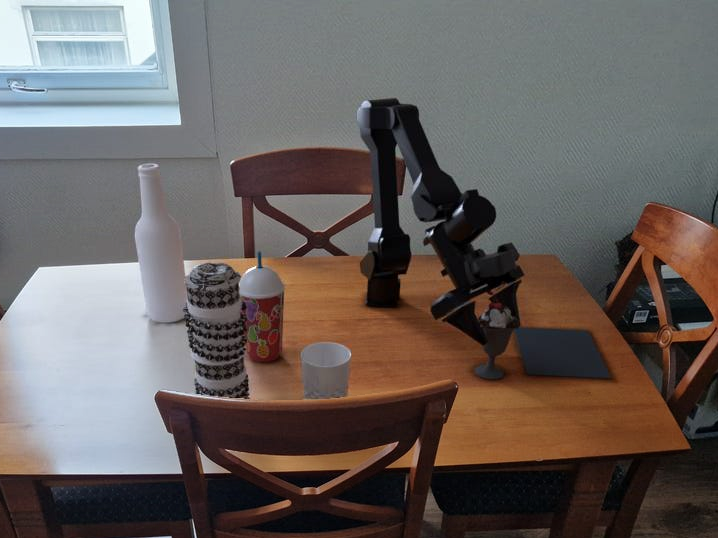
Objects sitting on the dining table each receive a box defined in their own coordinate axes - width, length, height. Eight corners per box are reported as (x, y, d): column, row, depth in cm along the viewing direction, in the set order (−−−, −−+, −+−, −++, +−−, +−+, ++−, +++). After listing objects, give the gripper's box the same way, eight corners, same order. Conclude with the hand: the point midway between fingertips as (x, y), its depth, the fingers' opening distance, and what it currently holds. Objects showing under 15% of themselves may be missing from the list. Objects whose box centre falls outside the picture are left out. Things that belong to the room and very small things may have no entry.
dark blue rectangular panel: (527, 374, 114) (527, 373, 114) (513, 327, 129) (513, 327, 128) (611, 379, 112) (612, 378, 112) (587, 331, 127) (587, 330, 127)
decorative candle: (210, 395, 111) (195, 253, 97) (261, 404, 108) (253, 260, 94) (186, 425, 104) (166, 276, 89) (239, 435, 101) (228, 284, 87)
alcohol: (182, 302, 142) (164, 157, 125) (195, 318, 135) (178, 168, 118) (142, 310, 139) (118, 163, 122) (154, 327, 132) (130, 174, 115)
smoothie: (292, 347, 124) (290, 245, 112) (277, 369, 117) (273, 263, 106) (251, 341, 126) (245, 241, 115) (234, 362, 120) (226, 258, 108)
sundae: (464, 364, 117) (476, 286, 109) (500, 362, 118) (515, 284, 109) (476, 383, 112) (489, 303, 103) (514, 381, 112) (531, 300, 104)
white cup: (346, 423, 103) (348, 368, 97) (297, 418, 104) (296, 364, 99) (352, 396, 109) (354, 343, 104) (305, 392, 111) (305, 340, 105)
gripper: (453, 243, 99) (503, 334, 98) (524, 217, 108) (571, 298, 108) (409, 278, 108) (454, 360, 107) (478, 250, 118) (521, 326, 117)
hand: (502, 335), depth 110 cm, fingers open, 9 cm apart
